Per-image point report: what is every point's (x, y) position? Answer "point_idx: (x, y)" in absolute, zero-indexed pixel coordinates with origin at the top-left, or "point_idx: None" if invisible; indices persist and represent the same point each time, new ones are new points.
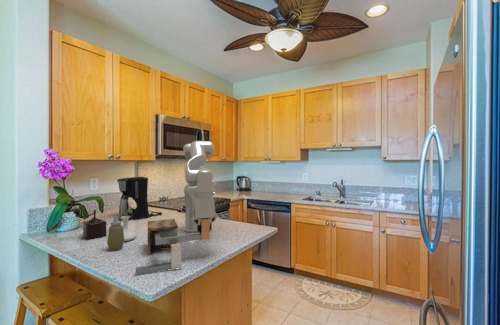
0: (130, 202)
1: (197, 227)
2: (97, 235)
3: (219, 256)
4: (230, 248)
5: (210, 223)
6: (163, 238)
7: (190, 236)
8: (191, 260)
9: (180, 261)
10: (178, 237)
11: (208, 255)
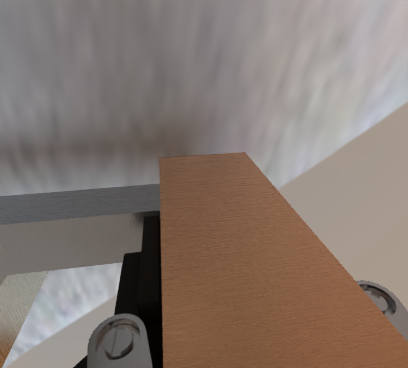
0: None
1: (119, 284)
2: None
3: (265, 175)
4: (379, 69)
5: None
6: None
7: (46, 266)
8: (104, 183)
9: (35, 289)
10: None
11: (212, 141)
